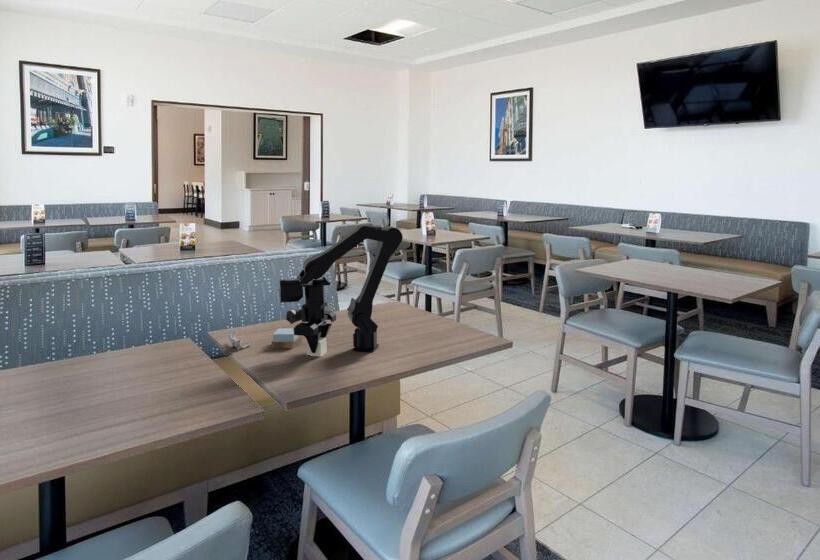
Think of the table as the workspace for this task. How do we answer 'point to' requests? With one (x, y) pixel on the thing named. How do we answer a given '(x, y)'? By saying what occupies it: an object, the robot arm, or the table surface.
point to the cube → (318, 348)
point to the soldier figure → (236, 342)
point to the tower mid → (284, 335)
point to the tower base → (287, 343)
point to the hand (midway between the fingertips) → (316, 350)
